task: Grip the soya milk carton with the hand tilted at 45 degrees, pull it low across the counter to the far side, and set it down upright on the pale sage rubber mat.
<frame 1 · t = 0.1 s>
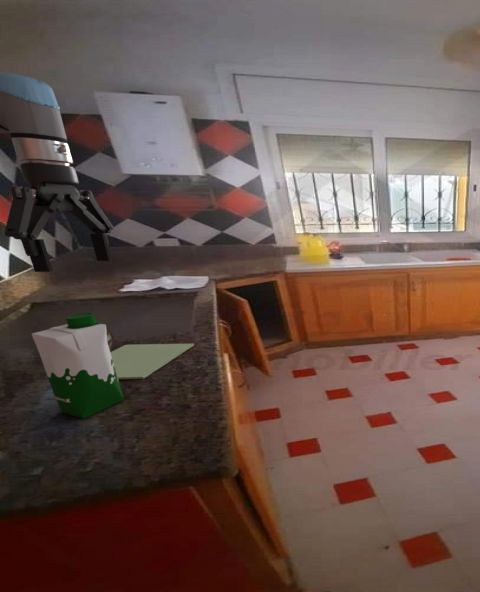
hand: (77, 265, 71), 29 cm above the counter, tool pointing down, fingers open, 13 cm apart
mat: (134, 361, 88), on the counter
tin: (84, 361, 88), on the counter
soya milk: (93, 406, 68), on the counter
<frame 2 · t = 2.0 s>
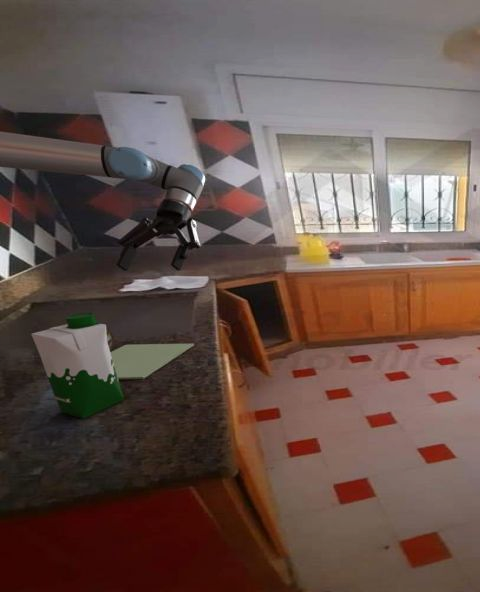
hand: (148, 267, 83), 26 cm above the counter, tool tilted 45°, fingers open, 13 cm apart
nothing on the counter moved.
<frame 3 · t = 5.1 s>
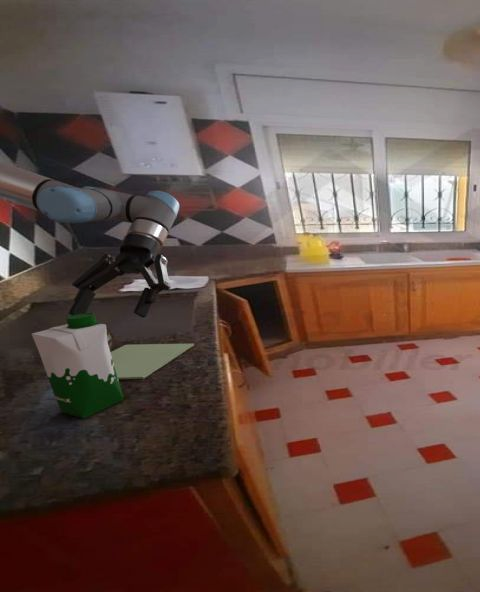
hand: (107, 315, 71), 18 cm above the counter, tool tilted 45°, fingers open, 13 cm apart
nothing on the counter moved.
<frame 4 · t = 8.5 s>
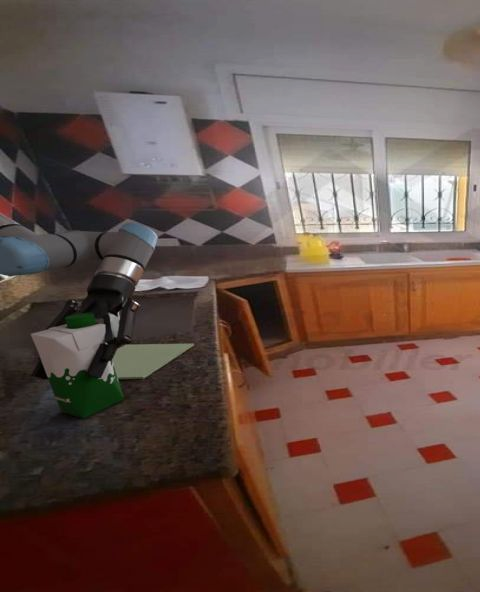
hand: (66, 377, 63), 9 cm above the counter, tool tilted 45°, fingers closed on soya milk, 9 cm apart
soya milk: (94, 406, 68), on the counter, touching gripper
everything else where it was.
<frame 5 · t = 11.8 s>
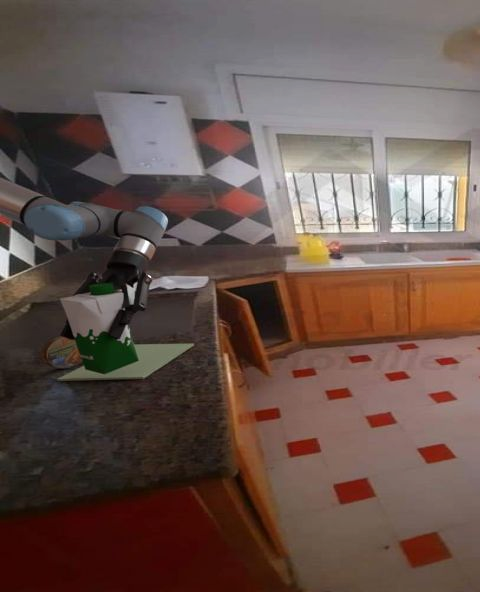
hand: (90, 337, 72), 13 cm above the counter, tool tilted 45°, fingers closed on soya milk, 9 cm apart
soya milk: (112, 366, 77), point 4 cm above the counter, touching gripper
everything else where it was.
when the fingers open (9 cm above the counter, at t = 15.1 s): soya milk stays where it is, resting on mat.
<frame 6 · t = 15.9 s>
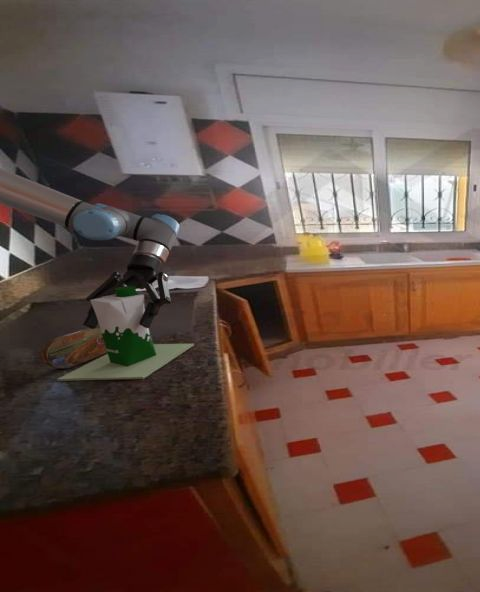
hand: (116, 326, 83), 11 cm above the counter, tool tilted 45°, fingers open, 13 cm apart
soya milk: (133, 359, 88), resting on mat
everything else where it was.
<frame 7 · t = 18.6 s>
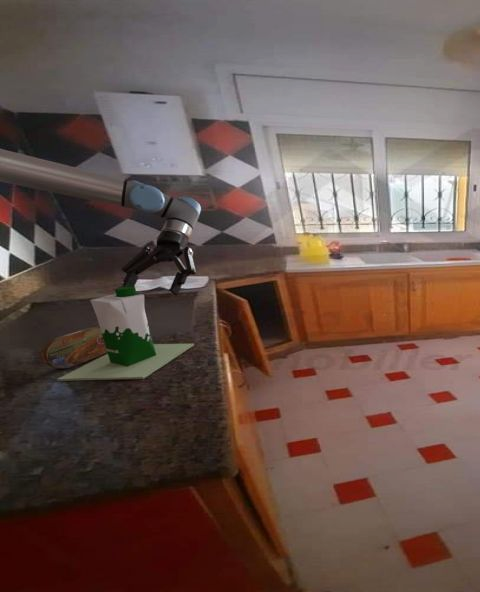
hand: (149, 293, 93), 17 cm above the counter, tool tilted 45°, fingers open, 13 cm apart
nothing on the counter moved.
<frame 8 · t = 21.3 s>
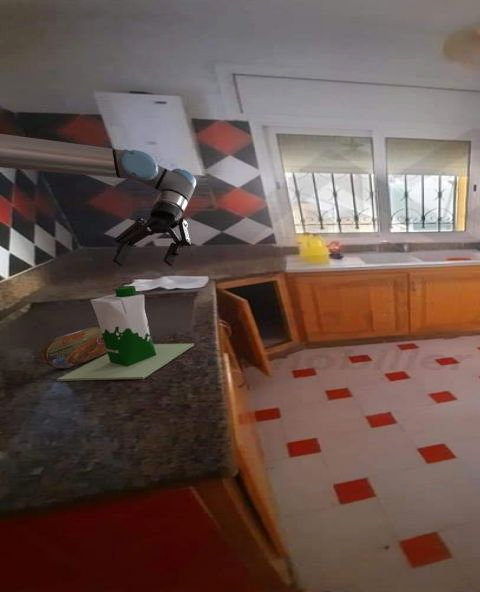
hand: (142, 263, 91), 26 cm above the counter, tool tilted 45°, fingers open, 13 cm apart
nothing on the counter moved.
at the end: soya milk inside the target area on the mat (0.1 cm from its centre), point 0.4 cm above the mat's base; soya milk tilted 0°; soya milk moved 22.6 cm from its start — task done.
